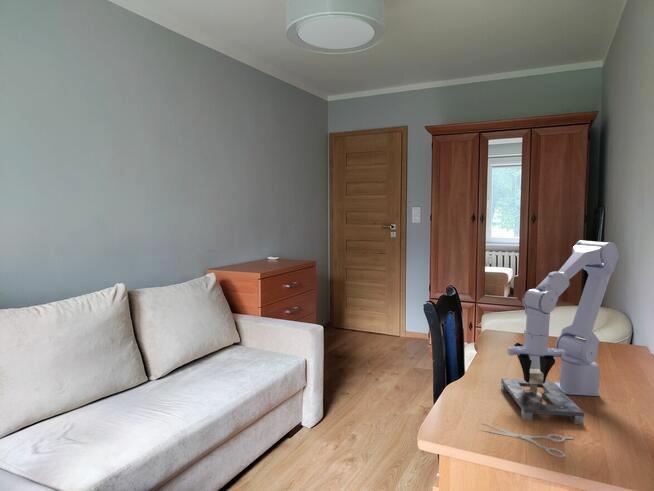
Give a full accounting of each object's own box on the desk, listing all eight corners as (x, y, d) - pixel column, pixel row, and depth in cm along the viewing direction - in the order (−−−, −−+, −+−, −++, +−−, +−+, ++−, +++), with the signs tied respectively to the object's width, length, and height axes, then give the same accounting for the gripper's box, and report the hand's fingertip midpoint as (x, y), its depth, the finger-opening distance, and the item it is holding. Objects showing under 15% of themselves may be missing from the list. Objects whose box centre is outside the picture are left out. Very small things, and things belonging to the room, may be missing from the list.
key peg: (538, 394, 125) (540, 368, 124) (544, 401, 121) (546, 374, 120) (522, 393, 125) (523, 367, 125) (527, 400, 121) (529, 373, 120)
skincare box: (539, 371, 144) (542, 335, 143) (526, 370, 145) (528, 334, 144) (535, 365, 150) (537, 330, 149) (521, 363, 151) (523, 329, 150)
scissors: (573, 460, 92) (473, 434, 102) (573, 463, 92) (473, 437, 102) (573, 437, 101) (482, 415, 111) (573, 440, 101) (482, 418, 111)
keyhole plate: (551, 391, 128) (551, 381, 128) (583, 424, 108) (584, 412, 108) (501, 388, 129) (501, 378, 129) (523, 420, 110) (524, 408, 109)
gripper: (558, 330, 124) (555, 377, 125) (505, 328, 126) (503, 374, 127) (569, 337, 117) (566, 387, 118) (513, 335, 119) (510, 384, 120)
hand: (534, 381), depth 122 cm, fingers closed on key peg, 3 cm apart
